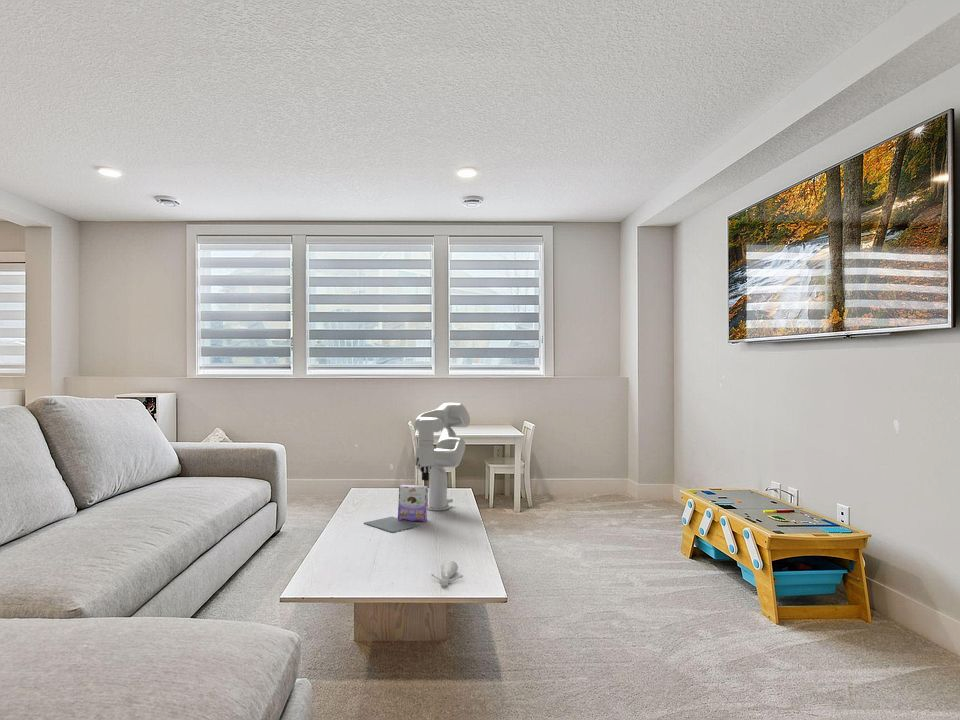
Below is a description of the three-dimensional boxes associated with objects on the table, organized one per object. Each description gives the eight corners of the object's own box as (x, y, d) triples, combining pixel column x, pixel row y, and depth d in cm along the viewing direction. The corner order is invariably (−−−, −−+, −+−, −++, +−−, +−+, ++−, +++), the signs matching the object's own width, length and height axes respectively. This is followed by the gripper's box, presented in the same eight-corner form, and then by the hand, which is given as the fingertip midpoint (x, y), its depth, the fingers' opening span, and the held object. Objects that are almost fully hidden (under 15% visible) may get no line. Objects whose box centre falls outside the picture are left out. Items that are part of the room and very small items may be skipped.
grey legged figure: (466, 558, 218) (461, 579, 200) (466, 570, 218) (460, 592, 200) (435, 557, 219) (427, 577, 201) (435, 569, 219) (427, 590, 201)
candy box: (427, 519, 290) (429, 485, 291) (425, 521, 284) (426, 487, 285) (399, 517, 292) (401, 483, 293) (397, 519, 286) (399, 485, 287)
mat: (391, 517, 293) (391, 516, 293) (420, 526, 278) (420, 525, 278) (363, 523, 280) (363, 522, 280) (392, 533, 265) (392, 531, 265)
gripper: (431, 441, 302) (431, 477, 302) (409, 443, 291) (408, 481, 291) (441, 443, 297) (441, 479, 297) (419, 445, 286) (418, 483, 286)
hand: (425, 480), depth 294 cm, fingers closed
